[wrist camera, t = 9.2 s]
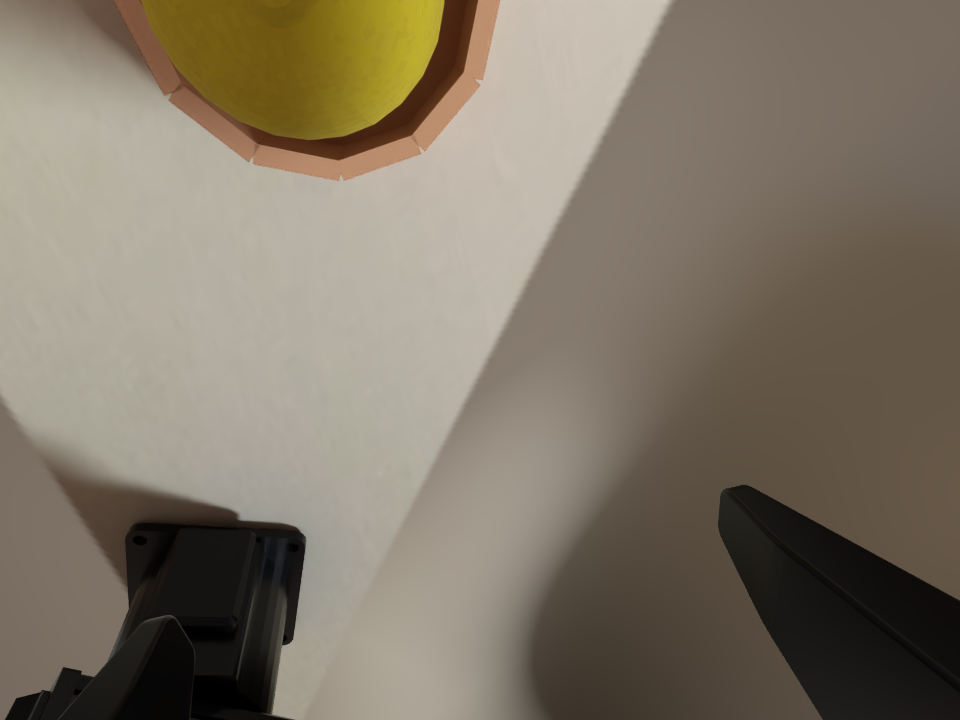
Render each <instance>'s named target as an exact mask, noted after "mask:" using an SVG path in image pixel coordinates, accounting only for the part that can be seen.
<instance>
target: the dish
mask: <svg viewBox="0 0 960 720" xmlns="http://www.w3.org/2000/svg"><path fill="white" fill-rule="evenodd" d="M113 1H114V2H115V4H116V6H117V8H118V10H119V12H120V14H121V16H122V17H123V19H124V21H125V23H126V25H127V27H128V29H129V31H130V32H131V34H132V36H133V38H134V40H135V42H136V44H137V46H138V47H139V49H140V51H141V53H142V55H143V57H144V59H145V61H146V62H147V64H148V66H149V68H150V70H151V72H152V74H153V76H154V77H155V79H156V81H157V83H158V85H159V87H160V89H161V90H162V92H163V94H164V95H167V94H170V93H173V94H172V95H171V97H170V98H169V101H170V102H171V103H172V104H174V105H175V106H176V107H178V108H179V109H180V110H182V111H183V112H184V113H185V114H187V115H188V116H189V117H191V118H192V119H193V120H194V121H196V122H197V123H198V124H200V125H201V126H202V127H204V128H205V129H206V130H207V131H209V132H210V133H211V134H213V135H214V136H215V137H217V138H218V139H219V140H220V141H222V142H223V143H224V144H226V145H227V146H228V147H230V148H231V149H232V150H233V151H235V152H236V153H237V154H239V155H240V156H241V157H242V158H244V159H245V160H246V161H248V162H249V160H250V159H251V158H252V157H253V156H254V157H253V164H255V165H260V166H265V167H270V168H275V169H280V170H285V171H291V172H296V173H301V174H306V175H311V176H316V177H321V178H326V179H332V180H337V181H339V179H340V174H341V175H342V177H343V180H347V179H350V178H353V177H356V176H359V175H362V174H365V173H367V172H370V171H373V170H376V169H379V168H382V167H385V166H388V165H391V164H394V163H396V162H399V161H402V160H405V159H408V158H411V157H414V156H417V155H420V154H421V152H420V149H419V146H420V147H421V148H422V149H423V150H424V151H426V149H427V148H428V147H429V146H430V145H431V144H432V142H433V141H434V140H435V139H436V138H437V136H438V135H439V134H440V133H441V132H442V130H443V129H444V128H445V127H446V126H447V125H448V123H449V122H450V121H451V120H452V119H453V117H454V116H455V115H456V114H457V113H458V111H459V110H460V109H461V108H462V107H463V106H464V104H465V103H466V102H467V101H468V100H469V98H470V97H471V96H472V95H473V94H474V92H475V91H476V90H477V89H478V88H479V87H480V84H479V83H478V82H477V81H476V80H475V79H479V80H483V78H484V73H485V68H486V64H487V59H488V54H489V50H490V45H491V40H492V36H493V31H494V26H495V22H496V17H497V12H498V8H499V3H500V0H444V9H443V14H442V20H441V26H440V32H439V37H438V42H437V45H436V47H435V49H434V52H433V54H432V56H431V59H430V61H429V63H428V66H427V68H426V70H425V72H424V75H423V76H422V78H421V79H420V80H419V82H418V83H417V84H416V86H415V87H414V88H413V89H412V91H411V92H410V93H409V95H408V96H407V97H406V99H405V100H404V101H403V103H402V104H400V105H399V106H398V107H396V108H395V109H394V110H393V111H391V112H390V113H389V114H387V115H386V116H385V117H383V118H382V119H381V120H380V121H378V122H377V123H376V124H374V125H371V126H369V127H366V128H364V129H361V130H359V131H356V132H354V133H351V134H349V135H346V136H342V137H333V138H324V139H316V140H305V139H298V138H291V137H283V136H276V135H272V134H270V133H267V132H265V131H262V130H260V129H257V128H255V127H252V126H250V125H247V124H245V123H242V122H240V121H238V120H237V119H235V118H234V117H232V116H231V115H229V114H228V113H226V112H225V111H223V110H222V109H220V108H219V107H217V106H216V105H215V104H213V103H212V102H210V101H209V100H207V99H206V98H204V96H203V95H202V94H201V93H200V92H199V91H198V90H197V89H196V88H195V87H194V86H193V85H192V84H191V83H190V82H189V81H188V80H187V79H186V78H185V77H184V76H183V75H182V74H181V73H180V72H179V71H178V70H177V69H176V68H175V66H174V64H173V63H172V61H171V60H170V58H169V56H168V55H167V53H166V52H165V50H164V49H163V47H162V45H161V44H160V42H159V41H158V39H157V37H156V36H155V34H154V33H153V31H152V29H151V27H150V24H149V21H148V19H147V16H146V13H145V11H144V8H143V6H142V3H141V0H113ZM474 78H475V79H474ZM418 145H419V146H418Z"/></svg>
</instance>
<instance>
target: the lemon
mask: <svg viewBox="0 0 960 720" xmlns="http://www.w3.org/2000/svg"><path fill="white" fill-rule="evenodd" d="M141 3H142V6H143V8H144V11H145V13H146V16H147V19H148V21H149V24H150V27H151V29H152V31H153V33H154V34H155V36H156V37H157V39H158V41H159V42H160V44H161V45H162V47H163V49H164V50H165V52H166V53H167V55H168V56H169V58H170V60H171V61H172V63H173V64H174V66H175V68H176V69H177V70H178V71H179V72H180V73H181V74H182V75H183V76H184V77H185V78H186V79H187V80H188V81H189V82H190V83H191V84H192V85H193V86H194V87H195V88H196V89H197V90H198V91H199V92H200V93H201V94H202V95H203V96H204V98H206V99H207V100H209V101H210V102H212V103H213V104H215V105H216V106H217V107H219V108H220V109H222V110H223V111H225V112H226V113H228V114H229V115H231V116H232V117H234V118H235V119H237V120H238V121H240V122H242V123H245V124H247V125H250V126H252V127H255V128H257V129H260V130H262V131H265V132H267V133H270V134H272V135H276V136H283V137H291V138H298V139H305V140H316V139H324V138H333V137H342V136H346V135H349V134H351V133H354V132H356V131H359V130H361V129H364V128H366V127H369V126H371V125H374V124H376V123H377V122H378V121H380V120H381V119H382V118H383V117H385V116H386V115H387V114H389V113H390V112H391V111H393V110H394V109H395V108H396V107H398V106H399V105H400V104H402V103H403V101H404V100H405V99H406V97H407V96H408V95H409V93H410V92H411V91H412V89H413V88H414V87H415V86H416V84H417V83H418V82H419V80H420V79H421V78H422V76H423V75H424V72H425V70H426V68H427V66H428V63H429V61H430V59H431V56H432V54H433V52H434V49H435V47H436V45H437V42H438V37H439V32H440V26H441V20H442V14H443V9H444V0H141Z"/></svg>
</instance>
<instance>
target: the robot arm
mask: <svg viewBox="0 0 960 720" xmlns="http://www.w3.org/2000/svg"><path fill="white" fill-rule="evenodd" d="M718 528H719V533H720V536H721V538H722V541H723V543H724V545H725V547H726V549H727V551H728V553H729V555H730V557H731V559H732V561H733V563H734V565H735V567H736V569H737V571H738V573H739V576H740V578H741V580H742V582H743V584H744V586H745V588H746V590H747V592H748V594H749V596H750V598H751V600H752V602H753V604H754V606H755V608H756V610H757V612H758V614H759V616H760V618H761V620H762V622H763V624H764V625H765V627H766V629H767V631H768V632H769V634H770V635H771V637H772V639H773V640H774V642H775V644H776V645H777V647H778V648H779V650H780V652H781V653H782V655H783V656H784V658H785V660H786V661H787V663H788V665H789V666H790V668H791V669H792V671H793V672H794V674H795V676H796V677H797V679H798V680H799V682H800V684H801V685H802V687H803V689H804V690H805V692H806V693H807V695H808V697H809V698H810V700H811V701H812V703H813V704H814V706H815V708H816V709H817V711H818V713H819V714H820V716H821V717H822V719H823V720H960V600H958V599H956V598H954V597H952V596H951V595H948V594H947V593H945V592H943V591H941V590H940V589H938V588H935V587H934V586H932V585H930V584H928V583H927V582H925V581H923V580H921V579H920V578H918V577H916V576H914V575H912V574H910V573H908V572H906V571H905V570H903V569H901V568H899V567H897V566H896V565H894V564H892V563H890V562H888V561H886V560H885V559H883V558H881V557H879V556H877V555H875V554H874V553H872V552H870V551H868V550H866V549H864V548H863V547H861V546H859V545H857V544H855V543H853V542H851V541H850V540H848V539H846V538H844V537H843V536H841V535H839V534H837V533H835V532H833V531H831V530H830V529H828V528H826V527H824V526H822V525H821V524H819V523H817V522H815V521H813V520H811V519H809V518H808V517H806V516H804V515H802V514H800V513H798V512H797V511H795V510H793V509H791V508H789V507H788V506H786V505H784V504H782V503H780V502H778V501H777V500H775V499H773V498H771V497H769V496H768V495H766V494H764V493H762V492H760V491H758V490H757V489H755V488H753V487H751V486H748V485H740V486H736V487H731V488H726V489H724V490H723V491H722V493H721V496H720V507H719V520H718ZM139 535H140V536H144V537H145V538H143V537H140V536H139ZM125 543H126V562H127V581H128V600H129V610H128V613H127V615H126V618H125V620H124V623H123V625H122V628H121V630H120V632H119V635H118V637H117V640H116V642H115V645H114V647H113V650H112V652H111V654H110V657H109V659H108V662H107V663H106V664H105V666H104V667H103V668H102V669H101V670H100V671H99V673H98V674H97V675H96V676H95V677H91V676H86V675H82V674H81V672H82V671H80V670H75V669H70V668H65V667H63V668H62V670H61V672H60V673H59V675H58V677H57V679H56V680H55V682H54V684H53V686H52V688H51V689H50V691H45V690H41V692H40V693H36V694H32V695H28V696H24V697H20V698H16V700H15V702H14V704H13V705H12V707H11V709H10V711H9V713H8V715H7V717H6V719H5V720H294V719H289V718H285V717H280V716H275V715H272V711H273V704H274V697H275V690H276V683H277V676H278V669H279V662H280V655H281V648H282V645H287V644H289V643H290V642H292V640H293V636H294V629H295V621H296V614H297V607H298V599H299V592H300V584H301V577H302V569H303V562H304V555H305V547H306V537H305V536H304V535H303V534H302V533H300V532H296V531H281V530H263V529H245V528H227V527H208V526H190V525H172V524H154V523H137V524H135V525H133V526H132V527H131V528H130V529H129V531H128V534H127V536H126V539H125ZM290 543H294V544H296V545H291V544H290Z"/></svg>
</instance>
